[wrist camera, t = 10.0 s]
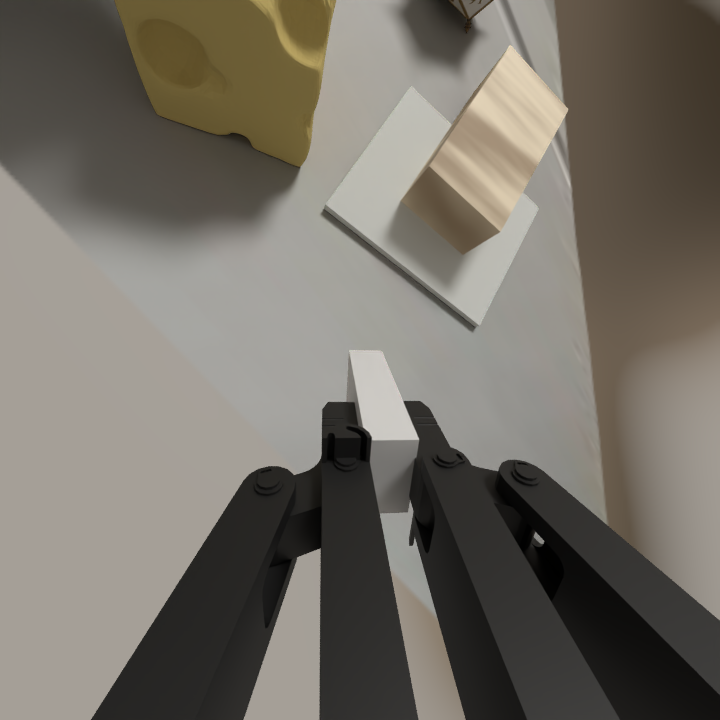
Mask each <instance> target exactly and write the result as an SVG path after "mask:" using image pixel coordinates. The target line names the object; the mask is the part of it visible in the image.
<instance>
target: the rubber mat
mask: <svg viewBox="0 0 720 720" xmlns="http://www.w3.org/2000/svg"><path fill="white" fill-rule="evenodd" d="M451 125H452V124H451V123H450V122H449V121H447V120H446V119H445V118H444V117H443V116H442V115H441V114H440V113H439V112H438V111H437V110H436V109H435V108H434V107H433V106H432V105H431V104H430V103H429V102H428V101H426V100H425V99H424V98H423V97H422V96H421V95H420V94H419V93H418V92H417V91H416V90H415V89H414V88H413V87H412V86H411V87H410V88H409V89H408V91H407V92H406V94H405V95H404V96H403V98H402V99H401V101H400V102H399V103H398V105H397V106H396V107H395V109H394V110H393V112H392V113H391V114H390V116H389V117H388V119H387V120H386V121H385V123H384V124H383V126H382V127H381V128H380V130H379V131H378V132H377V134H376V135H375V137H374V138H373V139H372V141H371V142H370V144H369V145H368V146H367V148H366V149H365V151H364V152H363V153H362V155H361V156H360V157H359V159H358V160H357V162H356V163H355V164H354V166H353V167H352V169H351V170H350V171H349V173H348V174H347V176H346V177H345V178H344V180H343V181H342V182H341V184H340V185H339V187H338V188H337V189H336V191H335V192H334V194H333V195H332V196H331V198H330V199H329V201H328V202H327V203H326V205H325V207H324V209H325V210H326V211H328V212H329V213H330V214H331V215H333V216H334V217H335V218H337V219H338V220H339V221H340V222H342V223H343V224H344V225H346V226H347V227H348V228H349V229H351V230H352V231H353V232H354V233H356V234H357V235H358V236H360V237H361V238H362V239H363V240H365V241H366V242H367V243H369V244H370V245H371V246H372V247H374V248H375V249H376V250H378V251H379V252H380V253H381V254H383V255H384V256H385V257H386V258H388V259H389V260H390V261H392V262H393V263H394V264H395V265H397V266H398V267H399V268H401V269H402V270H403V271H404V272H406V273H407V274H408V275H409V276H411V277H412V278H413V279H415V280H416V281H417V282H418V283H420V284H421V285H422V286H424V287H425V288H426V289H427V290H429V291H430V292H431V293H433V294H434V295H435V296H436V297H438V298H439V299H440V300H441V301H443V302H444V303H445V304H447V305H448V306H449V307H450V308H452V309H453V310H454V311H456V312H457V313H458V314H459V315H461V316H462V317H463V318H465V319H466V320H467V321H468V322H470V323H471V324H472V325H473V326H475V327H476V326H480V324H481V322H482V320H483V318H484V316H485V314H486V312H487V310H488V308H489V306H490V304H491V302H492V300H493V298H494V296H495V294H496V292H497V290H498V288H499V286H500V284H501V282H502V280H503V278H504V276H505V274H506V272H507V270H508V268H509V266H510V265H511V263H512V261H513V259H514V257H515V255H516V253H517V251H518V249H519V247H520V245H521V243H522V241H523V239H524V237H525V235H526V233H527V231H528V229H529V227H530V225H531V223H532V221H533V219H534V217H535V215H536V213H537V211H538V209H539V207H538V206H537V205H536V204H535V203H534V202H532V201H531V200H530V199H529V198H528V197H527V196H526V195H525V194H524V193H523V192H522V194H521V196H520V198H519V200H518V201H517V203H516V205H515V207H514V209H513V210H512V212H511V214H510V216H509V218H508V219H507V221H506V223H505V225H504V227H503V228H502V230H501V232H500V233H498V234H496V235H495V236H493V237H491V238H490V239H488V240H487V241H485V242H483V243H482V244H480V245H478V246H477V247H475V248H473V249H472V250H470V251H469V252H467V253H465V254H464V255H462V254H461V253H460V252H459V251H458V250H457V249H455V248H454V247H453V246H452V245H451V244H450V243H449V242H447V241H446V240H445V239H444V238H443V237H442V236H440V235H439V234H438V233H437V232H436V231H435V230H434V229H432V228H431V227H430V226H429V225H428V224H427V223H425V222H424V221H423V220H422V219H421V218H420V217H419V216H417V215H416V214H415V213H414V212H413V211H412V210H410V209H409V208H408V207H407V206H406V205H405V204H404V203H402V202H401V199H402V198H403V196H404V195H405V193H406V192H407V190H408V189H409V188H410V186H411V185H412V183H413V182H414V180H415V179H416V177H417V176H418V174H419V173H420V171H421V170H422V168H423V167H424V165H425V164H426V162H427V161H428V159H429V158H430V156H431V155H432V154H433V152H434V151H435V149H436V148H437V146H438V145H439V143H440V142H441V140H442V139H443V137H444V136H445V134H446V133H447V131H448V130H449V128H450V127H451Z"/></svg>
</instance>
